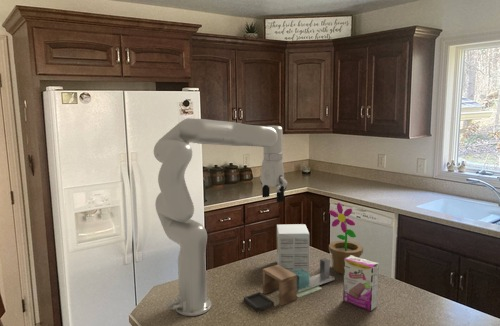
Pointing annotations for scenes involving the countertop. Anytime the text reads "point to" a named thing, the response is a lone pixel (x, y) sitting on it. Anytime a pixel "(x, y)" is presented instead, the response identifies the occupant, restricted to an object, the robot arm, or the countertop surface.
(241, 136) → the robot arm
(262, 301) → the tray
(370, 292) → the candy bar box
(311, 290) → the board
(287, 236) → the supplement box
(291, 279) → the tunnel
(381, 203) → the countertop surface
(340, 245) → the flowerpot
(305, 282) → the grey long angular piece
